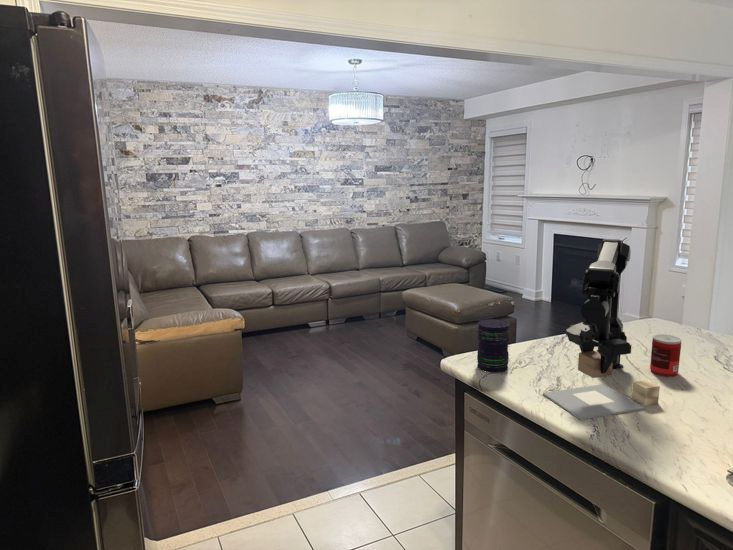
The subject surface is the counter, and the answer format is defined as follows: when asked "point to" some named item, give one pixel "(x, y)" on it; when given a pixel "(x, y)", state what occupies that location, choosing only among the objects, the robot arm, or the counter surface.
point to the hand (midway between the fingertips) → (594, 369)
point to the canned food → (665, 355)
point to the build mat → (593, 401)
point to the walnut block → (592, 364)
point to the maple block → (645, 392)
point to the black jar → (493, 345)
